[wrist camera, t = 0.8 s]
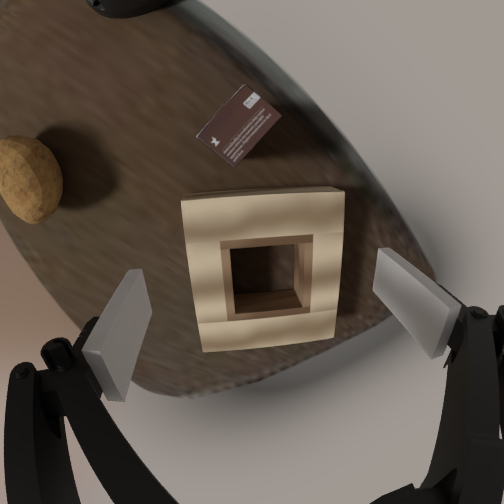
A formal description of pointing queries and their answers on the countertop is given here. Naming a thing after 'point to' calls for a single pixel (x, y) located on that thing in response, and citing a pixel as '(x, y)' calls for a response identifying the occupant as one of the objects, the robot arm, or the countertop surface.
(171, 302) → the countertop surface
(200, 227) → the square frame
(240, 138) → the box
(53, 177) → the potato
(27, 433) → the robot arm
